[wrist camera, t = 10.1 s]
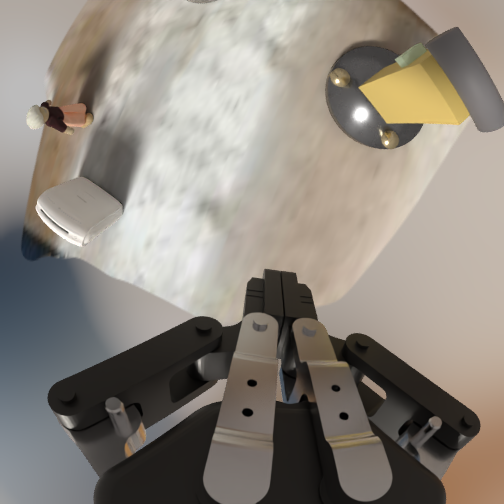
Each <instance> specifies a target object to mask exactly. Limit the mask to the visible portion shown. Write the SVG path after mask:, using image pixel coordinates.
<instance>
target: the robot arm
mask: <svg viewBox="0 0 504 504" xmlns="http://www.w3.org/2000/svg"><path fill="white" fill-rule="evenodd" d="M187 1H190V2H195V3H208V2H213V1H216V0H187ZM278 359H281V367H280V370H279V377H280V385H281V392H282V399H283V402H279V401H276V389H277V375H278ZM364 375H366V376H367V377H368V378H370V379H371V380H372V381H373V382H375V383H376V384H377V385H379V386H380V387H381V388H382V389H383V390H384V391H385V392H386V396H387V398H386V400H385V399H383V398H382V397H380V396H379V395H378V394H377V393H375V392H374V391H373V390H372V389H370V388H369V387H368V386H367V385H365V384H364V383H363V382H361V381H362V379H363V377H364ZM220 379H227V384H226V388H225V392H224V396H223V400H222V401H220V402H216V403H212V404H209V405H206V406H204V407H202V408H200V409H199V410H197V411H195V412H194V413H192V414H191V415H190V416H188V417H187V418H186V419H184V420H183V421H181V422H180V423H179V424H177V425H176V426H175V427H173V428H172V429H170V430H169V431H167V432H166V433H164V434H163V435H161V436H160V437H158V438H157V439H155V440H154V441H153V442H151V443H150V444H148V445H146V446H145V447H143V448H142V449H140V450H139V451H137V452H136V453H135V451H136V450H137V449H139V448H140V447H141V446H142V445H143V444H144V442H145V439H146V431H145V429H147V428H148V427H150V426H152V425H153V424H155V423H157V422H158V421H160V420H162V419H163V418H165V417H167V416H168V415H170V414H171V413H173V412H175V411H176V410H178V409H179V408H181V407H182V406H184V405H185V404H187V403H189V402H190V401H191V400H193V399H195V398H196V397H198V396H199V395H201V394H202V393H203V392H205V391H206V390H208V389H209V388H211V387H212V386H213V385H215V384H216V383H217V381H218V380H220ZM48 403H49V405H50V407H51V409H52V410H53V412H54V414H55V415H56V417H57V419H58V421H59V423H60V424H61V426H62V427H63V429H64V430H65V431H66V433H67V434H68V435H69V437H70V438H71V439H72V440H73V441H74V442H75V443H76V445H77V446H78V447H79V449H80V450H81V451H82V452H83V454H84V456H85V457H86V459H87V460H88V462H89V463H90V464H91V466H92V467H93V469H94V470H95V471H96V473H97V474H98V476H99V477H100V479H99V480H98V482H97V484H96V487H95V490H94V504H446V493H445V488H444V486H443V484H442V482H441V478H442V477H443V475H444V474H445V472H446V471H447V469H448V467H449V465H450V464H451V462H452V460H453V459H454V457H455V455H456V453H457V452H458V451H459V450H460V449H462V448H463V447H464V446H465V445H466V444H467V443H468V442H469V441H470V440H471V439H473V438H474V437H475V436H476V435H477V434H478V433H479V431H480V421H479V418H478V417H477V415H476V414H475V413H474V412H473V411H472V410H470V409H469V408H467V407H466V406H465V405H463V404H462V403H461V402H459V401H458V400H456V399H455V398H454V397H452V396H451V395H449V394H448V393H447V392H445V391H444V390H442V389H441V388H440V387H438V386H437V385H436V384H434V383H433V382H431V381H430V380H429V379H427V378H426V377H424V376H423V375H422V374H420V373H419V372H418V371H416V370H415V369H413V368H412V367H410V366H409V365H408V364H406V363H405V362H404V361H402V360H401V359H400V358H398V357H397V356H395V355H394V354H393V353H391V352H390V351H389V350H387V349H386V348H384V347H383V346H382V345H380V344H379V343H377V342H376V341H375V340H373V339H372V338H370V337H369V336H367V335H364V334H359V333H354V334H351V335H349V336H348V337H347V338H346V341H345V340H342V339H338V338H335V337H332V336H330V335H328V333H327V330H326V328H325V327H324V325H323V324H322V323H320V322H319V321H318V319H317V314H316V310H315V306H314V301H313V299H312V293H311V290H310V289H309V288H308V287H307V286H306V285H305V284H299V283H298V281H297V276H296V273H293V272H286V271H278V270H270V269H264V273H263V279H260V278H253V277H252V278H251V280H250V281H249V282H248V283H247V289H246V296H245V303H244V310H243V319H242V321H241V322H239V323H238V324H236V325H233V326H227V327H222V325H221V323H220V322H218V321H217V320H216V319H213V318H211V317H205V316H200V317H195V318H192V319H190V320H188V321H186V322H184V323H182V324H180V325H178V326H176V327H174V328H172V329H170V330H168V331H166V332H164V333H162V334H160V335H158V336H156V337H154V338H151V339H149V340H148V341H145V342H143V343H142V344H139V345H137V346H135V347H133V348H131V349H129V350H127V351H124V352H122V353H120V354H118V355H116V356H114V357H112V358H110V359H107V360H105V361H103V362H101V363H99V364H96V365H94V366H92V367H90V368H88V369H85V370H83V371H81V372H79V373H77V374H75V375H72V376H70V377H68V378H65V379H63V380H61V381H59V382H57V383H55V384H54V385H53V386H52V387H51V389H50V390H49V393H48Z"/></svg>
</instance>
